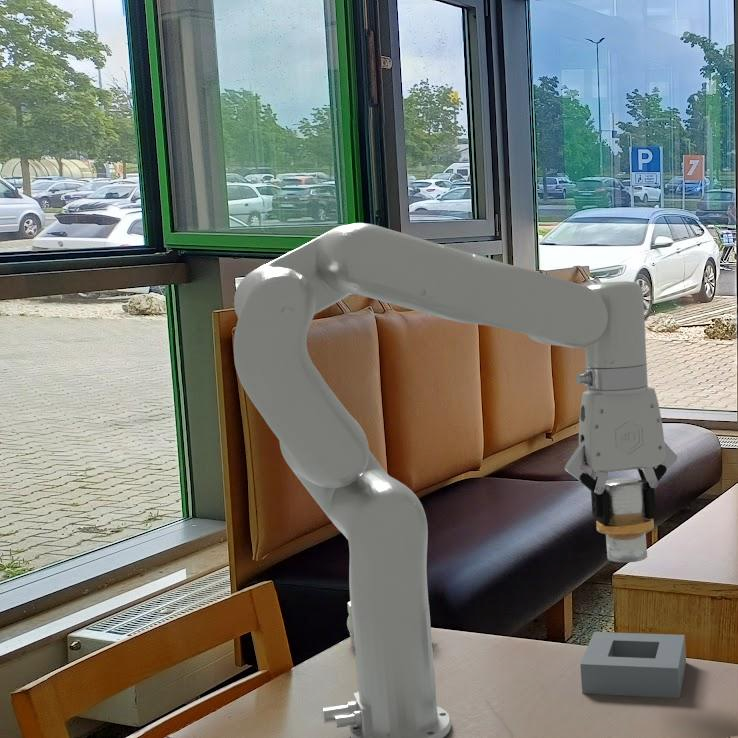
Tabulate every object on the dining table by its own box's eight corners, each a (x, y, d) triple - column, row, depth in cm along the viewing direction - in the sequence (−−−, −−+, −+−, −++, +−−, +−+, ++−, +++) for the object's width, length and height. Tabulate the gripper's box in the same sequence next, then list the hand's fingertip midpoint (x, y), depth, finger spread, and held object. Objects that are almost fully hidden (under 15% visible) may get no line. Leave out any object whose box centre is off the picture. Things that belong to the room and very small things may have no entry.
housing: (680, 707, 142) (677, 668, 141) (582, 702, 146) (580, 664, 145) (686, 671, 153) (684, 634, 152) (596, 667, 157) (593, 631, 156)
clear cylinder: (612, 567, 143) (606, 491, 142) (590, 554, 150) (584, 481, 149) (665, 559, 144) (660, 483, 144) (641, 547, 152) (636, 474, 151)
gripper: (563, 388, 140) (571, 534, 142) (693, 376, 143) (699, 518, 145) (542, 382, 147) (550, 521, 149) (666, 370, 150) (673, 506, 152)
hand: (624, 518), depth 147 cm, fingers closed on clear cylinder, 5 cm apart
